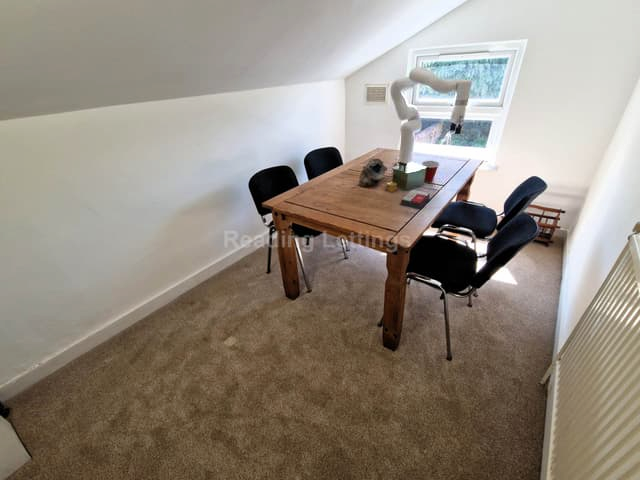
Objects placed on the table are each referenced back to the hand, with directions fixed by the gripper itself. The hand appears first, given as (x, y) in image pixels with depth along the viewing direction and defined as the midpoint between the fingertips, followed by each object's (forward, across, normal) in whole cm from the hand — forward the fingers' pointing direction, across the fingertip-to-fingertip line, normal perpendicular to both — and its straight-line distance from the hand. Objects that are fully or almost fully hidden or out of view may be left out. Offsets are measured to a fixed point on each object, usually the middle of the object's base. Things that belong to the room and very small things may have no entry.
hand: (454, 132), depth 181 cm
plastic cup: (+28, +11, -15) cm, 34 cm away
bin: (+28, +17, -30) cm, 44 cm away
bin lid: (+17, +17, -30) cm, 39 cm away
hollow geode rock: (+29, +9, -51) cm, 59 cm away
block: (+28, +26, -42) cm, 56 cm away
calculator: (+28, +43, -30) cm, 60 cm away
